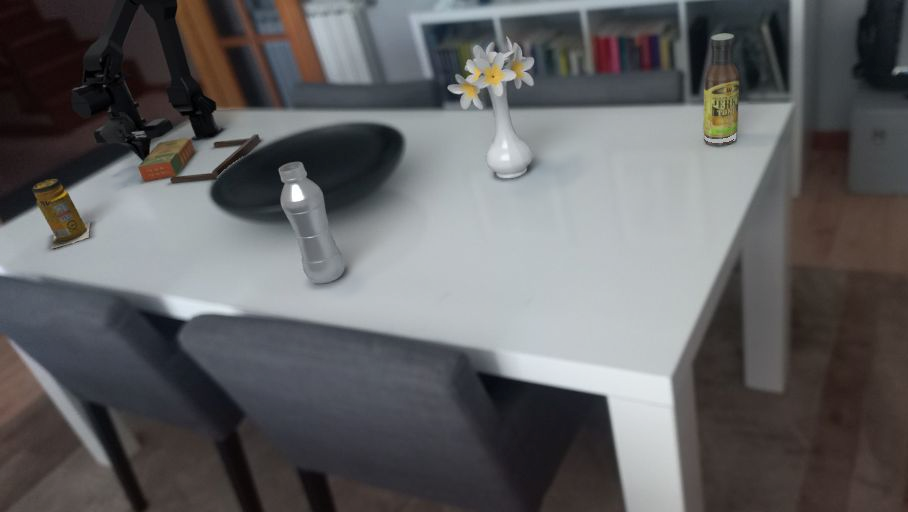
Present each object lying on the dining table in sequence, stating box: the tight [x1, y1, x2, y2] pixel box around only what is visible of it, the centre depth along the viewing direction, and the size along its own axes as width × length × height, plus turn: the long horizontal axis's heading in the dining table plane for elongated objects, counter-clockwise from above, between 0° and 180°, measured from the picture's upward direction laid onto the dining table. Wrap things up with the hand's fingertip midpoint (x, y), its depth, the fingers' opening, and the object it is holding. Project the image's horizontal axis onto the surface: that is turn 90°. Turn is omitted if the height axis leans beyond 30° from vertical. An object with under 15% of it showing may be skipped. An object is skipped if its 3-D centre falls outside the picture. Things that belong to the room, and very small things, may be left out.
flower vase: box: [447, 35, 535, 179], centre depth 137 cm, size 13×18×25 cm
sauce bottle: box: [702, 32, 740, 147], centre depth 134 cm, size 6×6×20 cm
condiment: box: [31, 178, 91, 249], centre depth 151 cm, size 7×8×12 cm
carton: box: [137, 137, 196, 182], centre depth 181 cm, size 8×16×4 cm, turn 3°
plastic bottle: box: [278, 161, 346, 284], centre depth 115 cm, size 6×7×20 cm
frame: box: [169, 133, 261, 184], centre depth 179 cm, size 22×13×2 cm, turn 171°
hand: (147, 162), depth 183 cm, fingers closed
